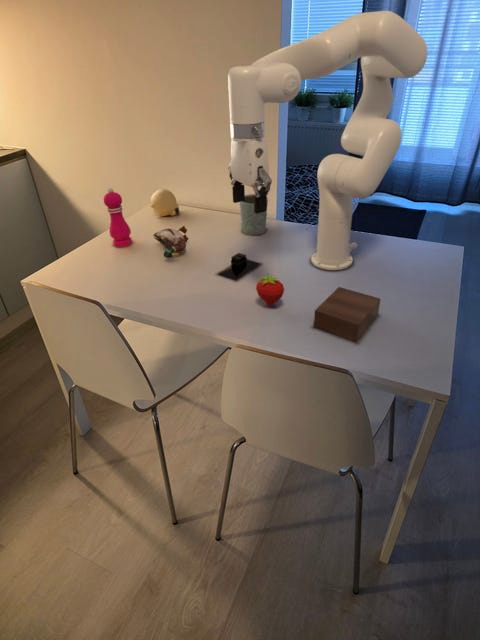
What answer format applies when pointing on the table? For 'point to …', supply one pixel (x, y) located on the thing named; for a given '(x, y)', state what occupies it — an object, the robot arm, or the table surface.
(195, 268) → the table surface
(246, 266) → the build plate
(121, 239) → the pepper mill
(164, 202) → the beige rounded lump
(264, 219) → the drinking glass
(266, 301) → the strawberry
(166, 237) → the decorative duck model
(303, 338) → the table surface
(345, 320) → the walnut block
